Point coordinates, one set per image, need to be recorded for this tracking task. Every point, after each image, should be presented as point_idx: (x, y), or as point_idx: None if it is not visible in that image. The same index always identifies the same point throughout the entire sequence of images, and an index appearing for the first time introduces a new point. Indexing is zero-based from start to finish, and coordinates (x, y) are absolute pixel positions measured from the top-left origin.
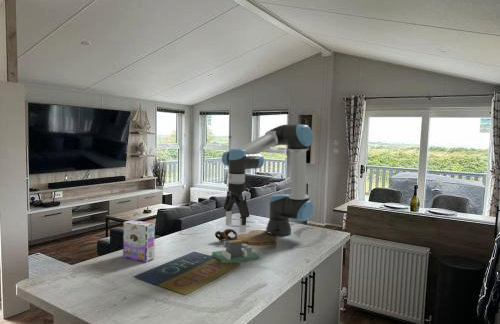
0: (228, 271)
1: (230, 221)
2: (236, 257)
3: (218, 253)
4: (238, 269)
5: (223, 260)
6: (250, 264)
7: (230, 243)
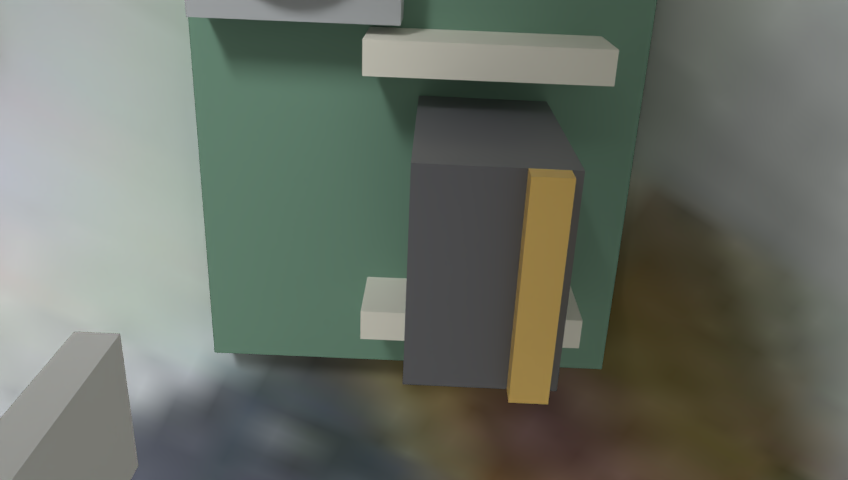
0: (781, 414)
1: (82, 417)
2: None
3: (296, 312)
4: (808, 304)
5: None
6: (781, 93)
7: (556, 386)
